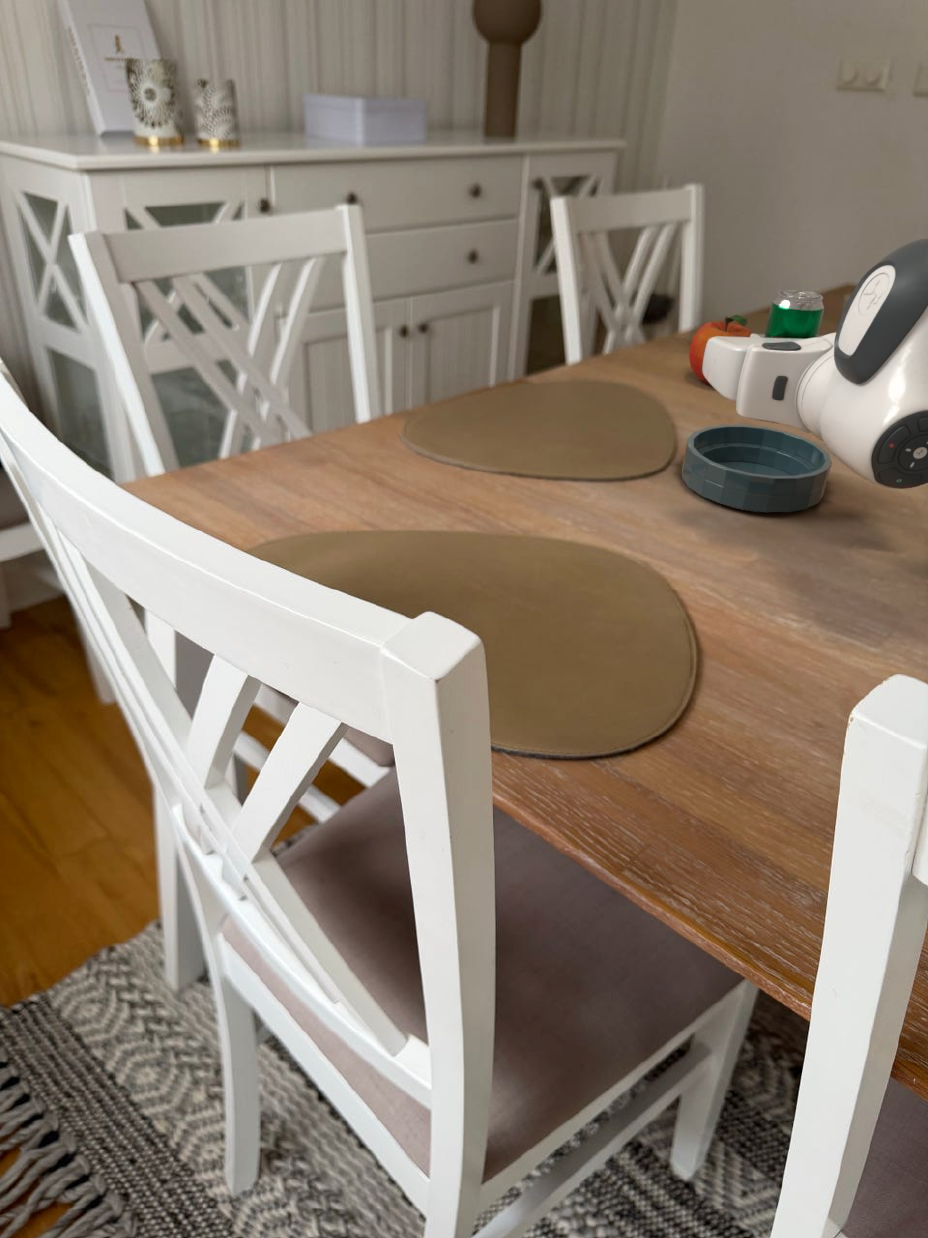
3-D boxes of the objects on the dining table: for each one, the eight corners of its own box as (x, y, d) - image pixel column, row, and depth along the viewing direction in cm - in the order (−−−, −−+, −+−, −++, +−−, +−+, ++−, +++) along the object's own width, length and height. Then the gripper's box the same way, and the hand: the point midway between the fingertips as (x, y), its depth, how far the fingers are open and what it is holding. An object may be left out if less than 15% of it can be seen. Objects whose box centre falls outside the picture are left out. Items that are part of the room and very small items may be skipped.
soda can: (785, 402, 102) (811, 287, 96) (807, 418, 98) (836, 300, 92) (741, 403, 101) (765, 287, 95) (762, 419, 97) (788, 300, 91)
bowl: (813, 469, 112) (823, 433, 109) (828, 525, 99) (839, 486, 96) (681, 454, 114) (688, 418, 112) (679, 507, 101) (686, 467, 99)
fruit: (723, 368, 144) (736, 301, 139) (764, 388, 137) (779, 318, 131) (671, 374, 140) (682, 305, 135) (709, 395, 133) (723, 323, 128)
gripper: (960, 353, 84) (892, 313, 96) (736, 347, 83) (694, 307, 94) (938, 421, 87) (875, 374, 99) (722, 416, 86) (684, 370, 98)
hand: (785, 342), depth 97 cm, fingers closed on soda can, 5 cm apart
